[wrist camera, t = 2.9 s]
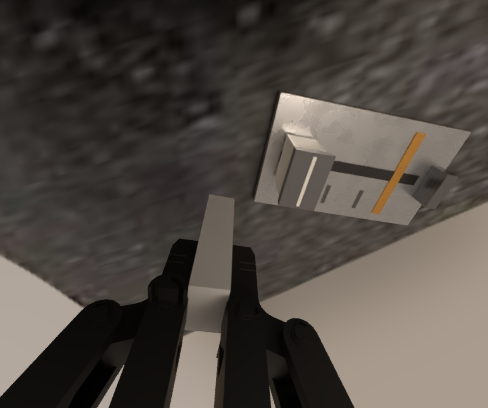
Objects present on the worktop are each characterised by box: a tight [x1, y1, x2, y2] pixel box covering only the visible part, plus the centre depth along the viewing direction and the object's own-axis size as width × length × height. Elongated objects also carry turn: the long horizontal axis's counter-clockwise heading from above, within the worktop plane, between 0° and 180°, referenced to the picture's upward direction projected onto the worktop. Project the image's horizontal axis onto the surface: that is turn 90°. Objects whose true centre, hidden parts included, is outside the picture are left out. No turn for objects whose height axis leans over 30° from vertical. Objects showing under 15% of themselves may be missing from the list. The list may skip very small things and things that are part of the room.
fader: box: [275, 134, 336, 211], centre depth 23 cm, size 5×3×5 cm, turn 169°
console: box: [254, 91, 471, 225], centre depth 26 cm, size 12×20×4 cm, turn 79°
